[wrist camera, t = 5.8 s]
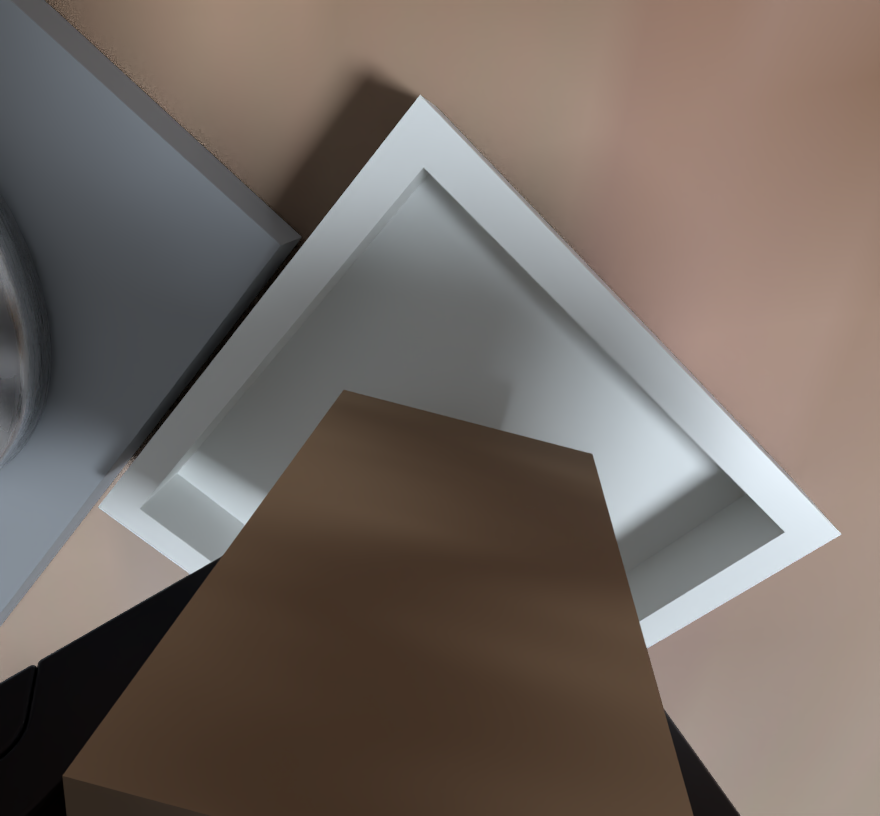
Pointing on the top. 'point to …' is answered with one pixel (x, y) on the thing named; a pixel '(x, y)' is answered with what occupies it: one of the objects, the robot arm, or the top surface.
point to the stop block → (400, 645)
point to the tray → (472, 381)
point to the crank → (20, 341)
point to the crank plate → (110, 270)
